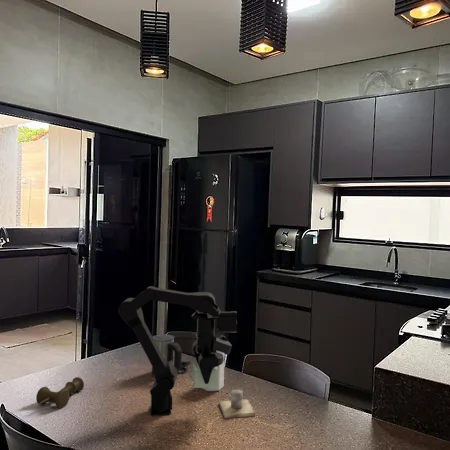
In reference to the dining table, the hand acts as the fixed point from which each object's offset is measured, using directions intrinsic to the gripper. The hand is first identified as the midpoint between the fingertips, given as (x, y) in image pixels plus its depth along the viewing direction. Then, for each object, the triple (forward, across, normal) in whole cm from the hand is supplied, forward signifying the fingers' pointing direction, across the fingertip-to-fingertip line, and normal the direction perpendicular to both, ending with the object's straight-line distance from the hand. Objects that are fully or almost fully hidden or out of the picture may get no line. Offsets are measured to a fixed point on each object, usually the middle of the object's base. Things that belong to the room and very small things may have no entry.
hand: (204, 379), depth 141 cm
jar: (+11, +20, -6) cm, 24 cm away
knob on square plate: (+11, 0, -11) cm, 15 cm away
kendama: (+11, +16, +48) cm, 51 cm away
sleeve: (+1, 0, 0) cm, 1 cm away
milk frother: (+11, +38, +8) cm, 41 cm away
